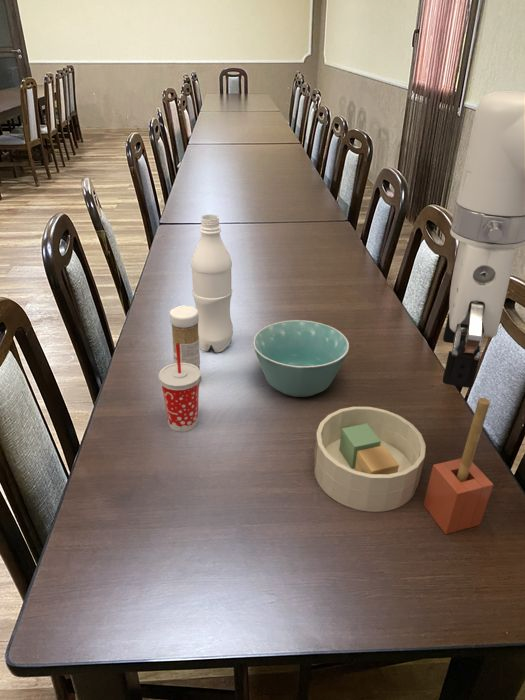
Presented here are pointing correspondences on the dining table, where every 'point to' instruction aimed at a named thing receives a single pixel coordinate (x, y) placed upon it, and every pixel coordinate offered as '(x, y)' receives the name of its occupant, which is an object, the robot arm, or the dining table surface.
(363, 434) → the sage block
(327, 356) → the bowl
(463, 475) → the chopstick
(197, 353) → the sprinkles bottle
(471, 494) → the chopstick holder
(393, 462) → the maple block
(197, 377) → the beverage cup
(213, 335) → the water bottle
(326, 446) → the stir bowl
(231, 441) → the dining table surface
